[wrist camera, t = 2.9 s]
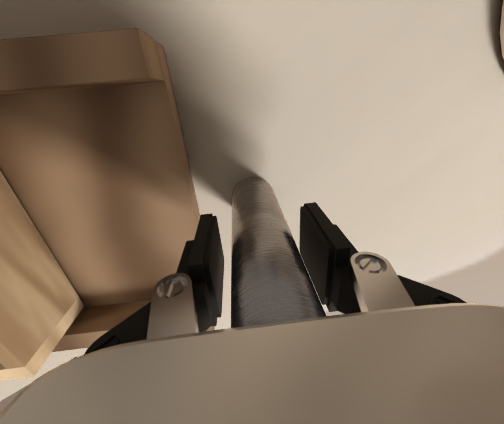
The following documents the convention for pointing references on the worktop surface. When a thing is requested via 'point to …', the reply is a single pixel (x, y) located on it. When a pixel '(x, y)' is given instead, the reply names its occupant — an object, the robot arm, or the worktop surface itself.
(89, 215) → the bay
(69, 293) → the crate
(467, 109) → the worktop surface
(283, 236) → the handle peg
